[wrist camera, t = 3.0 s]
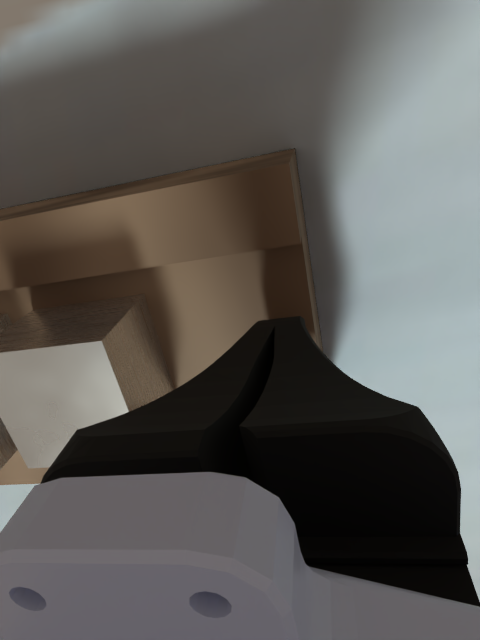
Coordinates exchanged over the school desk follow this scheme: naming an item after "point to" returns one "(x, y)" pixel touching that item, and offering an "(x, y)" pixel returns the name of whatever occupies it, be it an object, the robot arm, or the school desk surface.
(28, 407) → the grey square block
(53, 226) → the channel block
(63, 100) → the school desk surface
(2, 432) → the light grey block
